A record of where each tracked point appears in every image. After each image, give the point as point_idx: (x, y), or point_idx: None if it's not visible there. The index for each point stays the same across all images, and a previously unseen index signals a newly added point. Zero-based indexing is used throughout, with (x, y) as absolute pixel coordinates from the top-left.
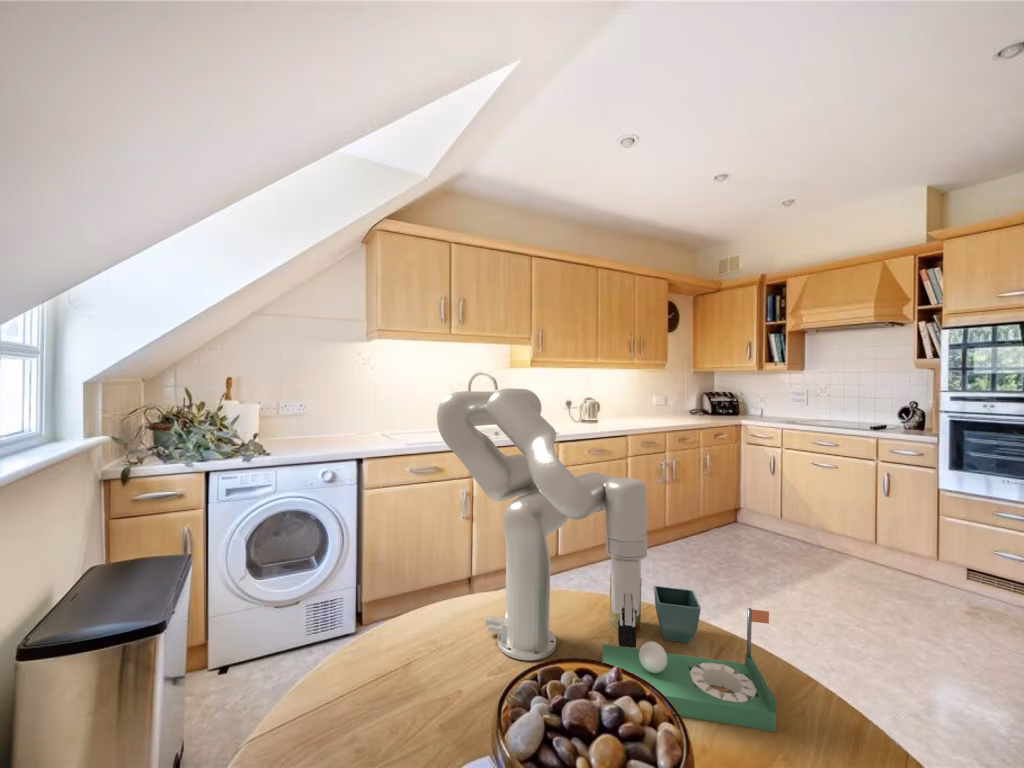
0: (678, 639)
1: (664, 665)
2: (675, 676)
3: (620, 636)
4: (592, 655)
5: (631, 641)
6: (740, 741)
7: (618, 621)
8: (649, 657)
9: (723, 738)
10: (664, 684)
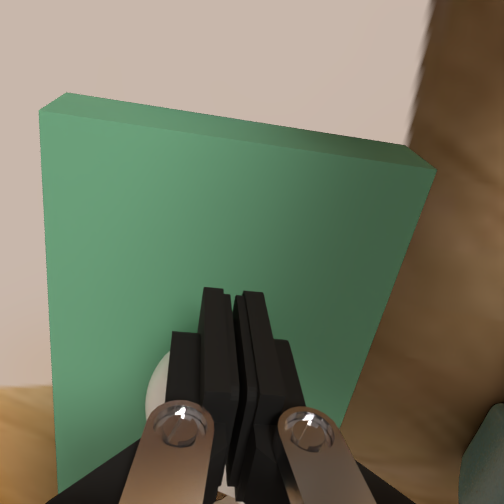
0: (474, 444)
1: None
2: None
3: (203, 334)
4: (439, 95)
5: (166, 384)
6: (12, 469)
7: (263, 395)
8: (154, 404)
9: (8, 439)
10: (125, 378)
